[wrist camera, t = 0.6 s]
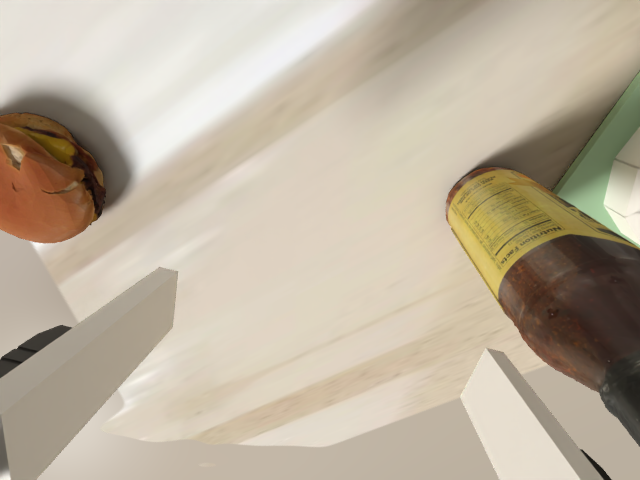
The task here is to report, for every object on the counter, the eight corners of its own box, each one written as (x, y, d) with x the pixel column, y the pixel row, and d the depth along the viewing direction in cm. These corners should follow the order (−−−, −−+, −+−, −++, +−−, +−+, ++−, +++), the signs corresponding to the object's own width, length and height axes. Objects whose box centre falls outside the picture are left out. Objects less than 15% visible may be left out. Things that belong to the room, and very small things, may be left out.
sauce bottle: (527, 216, 24) (945, 587, 8) (449, 242, 26) (654, 592, 9) (518, 143, 21) (1202, 506, 4) (431, 177, 23) (690, 534, 6)
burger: (6, 205, 26) (-52, 233, 22) (-31, 93, 21) (-115, 103, 17) (122, 234, 27) (87, 266, 23) (114, 135, 22) (68, 155, 18)
